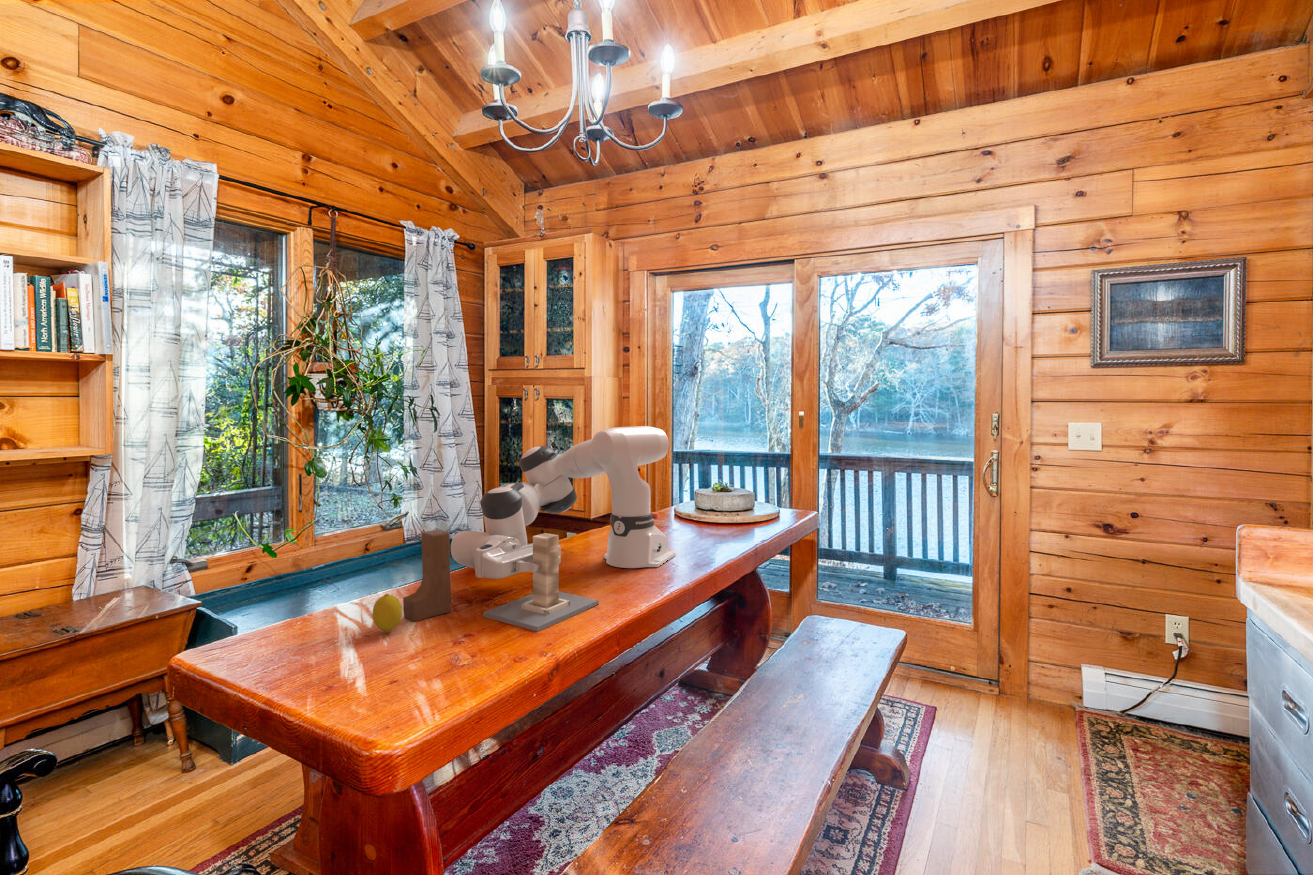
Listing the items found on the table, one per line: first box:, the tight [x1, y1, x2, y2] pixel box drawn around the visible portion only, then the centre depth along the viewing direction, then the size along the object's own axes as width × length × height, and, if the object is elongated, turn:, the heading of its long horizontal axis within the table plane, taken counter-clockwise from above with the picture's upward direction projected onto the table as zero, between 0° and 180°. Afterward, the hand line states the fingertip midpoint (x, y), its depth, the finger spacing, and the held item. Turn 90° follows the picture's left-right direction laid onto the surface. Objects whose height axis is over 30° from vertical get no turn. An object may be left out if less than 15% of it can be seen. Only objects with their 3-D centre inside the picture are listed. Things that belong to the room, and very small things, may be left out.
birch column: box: [532, 532, 560, 609], centre depth 142 cm, size 4×4×16 cm
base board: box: [482, 591, 600, 633], centre depth 143 cm, size 20×16×2 cm
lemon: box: [372, 593, 403, 634], centre depth 129 cm, size 6×6×8 cm
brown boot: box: [402, 529, 452, 623], centre depth 139 cm, size 9×4×18 cm, turn 137°
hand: (548, 564), depth 141 cm, fingers open, 5 cm apart
